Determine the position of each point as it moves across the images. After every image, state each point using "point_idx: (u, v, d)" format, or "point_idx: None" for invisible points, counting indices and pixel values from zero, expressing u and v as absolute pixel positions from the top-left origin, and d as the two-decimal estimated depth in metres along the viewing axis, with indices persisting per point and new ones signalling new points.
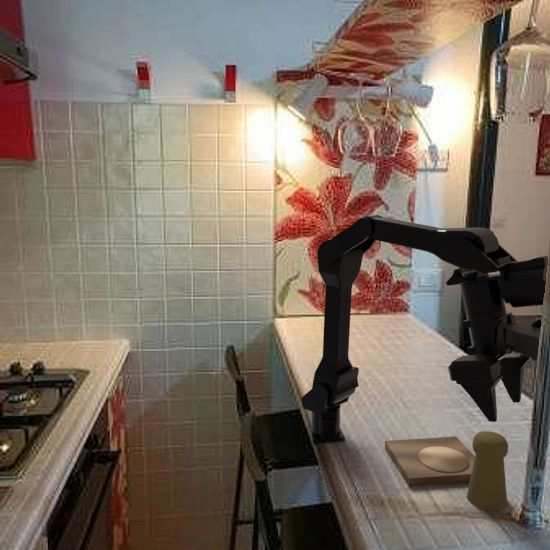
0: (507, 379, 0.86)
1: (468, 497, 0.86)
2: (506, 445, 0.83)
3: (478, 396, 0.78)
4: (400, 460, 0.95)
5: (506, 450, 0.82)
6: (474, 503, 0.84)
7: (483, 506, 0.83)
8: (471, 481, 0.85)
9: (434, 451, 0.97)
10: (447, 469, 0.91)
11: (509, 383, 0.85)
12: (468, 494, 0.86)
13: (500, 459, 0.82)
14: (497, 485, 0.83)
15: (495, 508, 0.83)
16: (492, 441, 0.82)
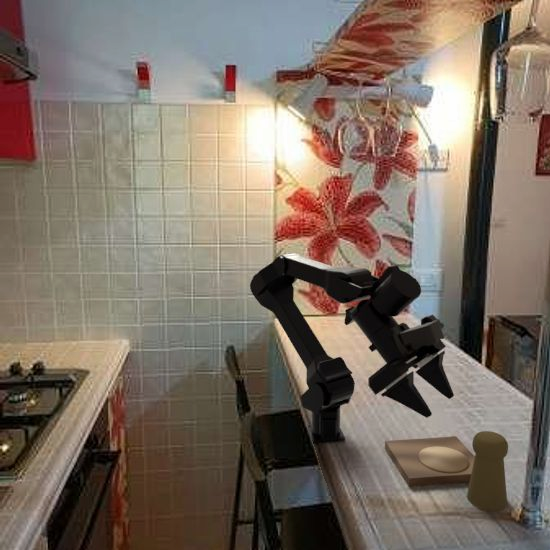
0: (434, 381, 0.94)
1: (468, 497, 0.86)
2: (506, 445, 0.83)
3: (406, 399, 0.86)
4: (400, 460, 0.95)
5: (506, 450, 0.82)
6: (474, 503, 0.84)
7: (483, 506, 0.83)
8: (471, 481, 0.85)
9: (434, 451, 0.97)
10: (447, 469, 0.91)
11: (437, 384, 0.93)
12: (468, 494, 0.86)
13: (500, 459, 0.82)
14: (497, 485, 0.83)
15: (495, 508, 0.83)
16: (492, 441, 0.82)
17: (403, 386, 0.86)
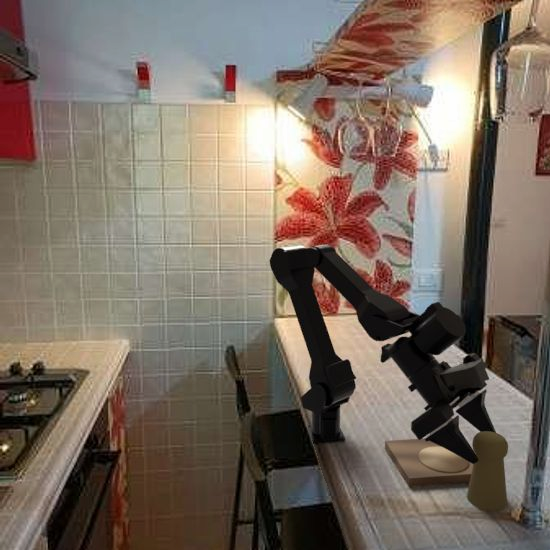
0: (477, 422, 0.90)
1: (468, 497, 0.86)
2: (506, 445, 0.83)
3: (451, 444, 0.82)
4: (400, 460, 0.95)
5: (506, 450, 0.82)
6: (474, 503, 0.84)
7: (483, 506, 0.83)
8: (471, 481, 0.85)
9: (434, 451, 0.97)
10: (447, 469, 0.91)
11: (480, 425, 0.89)
12: (468, 494, 0.86)
13: (500, 459, 0.82)
14: (497, 485, 0.83)
15: (495, 508, 0.83)
16: (492, 441, 0.82)
17: (447, 431, 0.82)
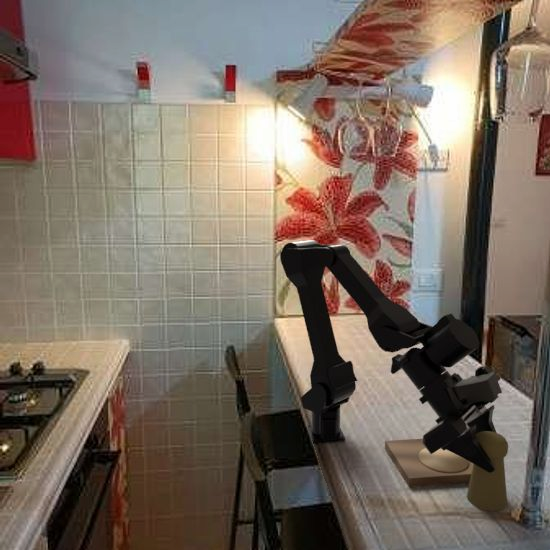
0: None
1: (468, 497, 0.86)
2: (506, 445, 0.83)
3: (467, 453, 0.83)
4: (400, 460, 0.95)
5: (506, 450, 0.82)
6: (474, 503, 0.84)
7: (483, 506, 0.83)
8: (471, 481, 0.85)
9: None
10: (447, 469, 0.91)
11: None
12: (468, 494, 0.86)
13: (500, 459, 0.82)
14: (497, 485, 0.83)
15: (495, 508, 0.83)
16: (492, 441, 0.82)
17: (464, 440, 0.83)
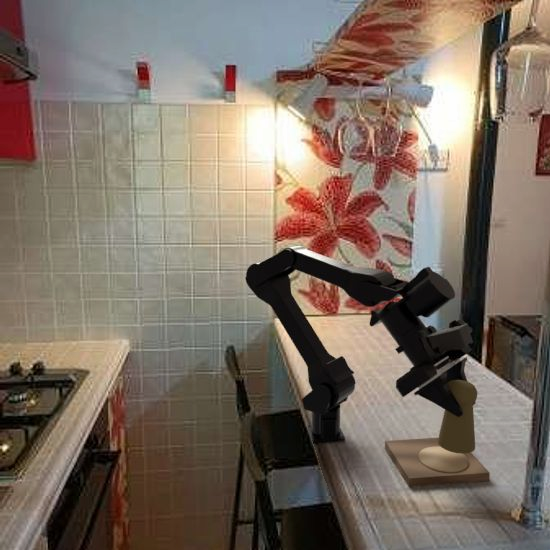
0: None
1: (439, 441, 0.91)
2: (475, 392, 0.87)
3: (438, 398, 0.88)
4: (400, 460, 0.95)
5: (475, 396, 0.87)
6: (444, 446, 0.89)
7: (452, 449, 0.88)
8: (442, 426, 0.90)
9: (434, 451, 0.97)
10: (447, 469, 0.91)
11: None
12: (439, 439, 0.91)
13: (469, 405, 0.87)
14: (465, 429, 0.88)
15: (463, 451, 0.88)
16: (461, 388, 0.87)
17: (435, 386, 0.88)
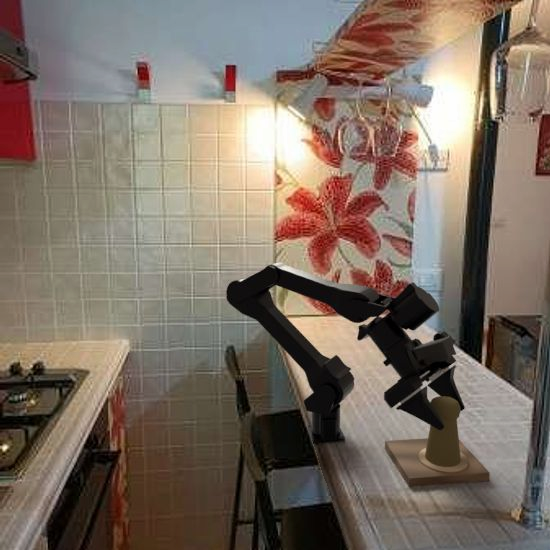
0: (446, 395, 0.98)
1: (426, 456, 0.95)
2: (458, 407, 0.92)
3: (420, 412, 0.90)
4: (400, 460, 0.95)
5: (458, 412, 0.92)
6: (430, 460, 0.94)
7: (438, 463, 0.93)
8: (428, 441, 0.95)
9: None
10: (447, 469, 0.91)
11: None
12: (426, 453, 0.95)
13: (453, 420, 0.92)
14: (450, 443, 0.92)
15: (448, 464, 0.92)
16: (445, 404, 0.91)
17: (417, 400, 0.90)
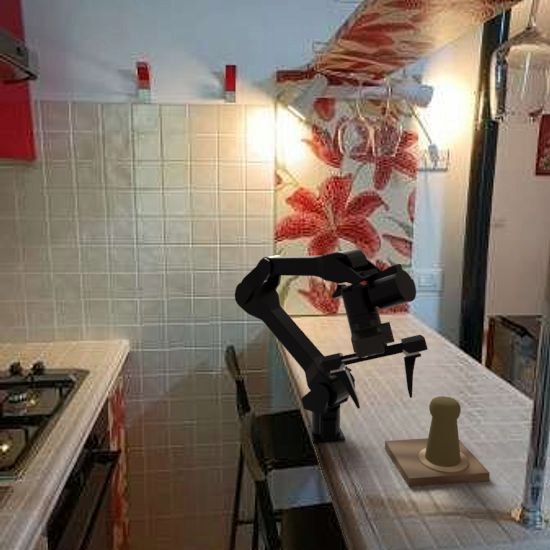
0: None
1: (426, 456, 0.95)
2: (458, 408, 0.92)
3: None
4: (400, 460, 0.95)
5: (458, 412, 0.92)
6: (430, 460, 0.94)
7: (438, 463, 0.93)
8: (428, 441, 0.95)
9: None
10: (447, 469, 0.91)
11: None
12: (426, 453, 0.95)
13: (453, 420, 0.92)
14: (450, 443, 0.92)
15: (448, 464, 0.92)
16: (445, 404, 0.91)
17: None
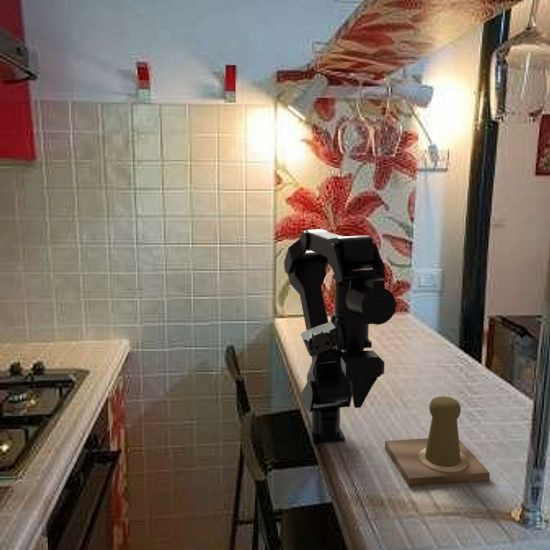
0: None
1: (426, 456, 0.95)
2: (458, 408, 0.92)
3: None
4: (400, 460, 0.95)
5: (458, 412, 0.92)
6: (430, 460, 0.94)
7: (438, 463, 0.93)
8: (428, 441, 0.95)
9: None
10: (447, 469, 0.91)
11: None
12: (426, 453, 0.95)
13: (453, 420, 0.92)
14: (450, 443, 0.92)
15: (448, 464, 0.92)
16: (445, 404, 0.91)
17: None
